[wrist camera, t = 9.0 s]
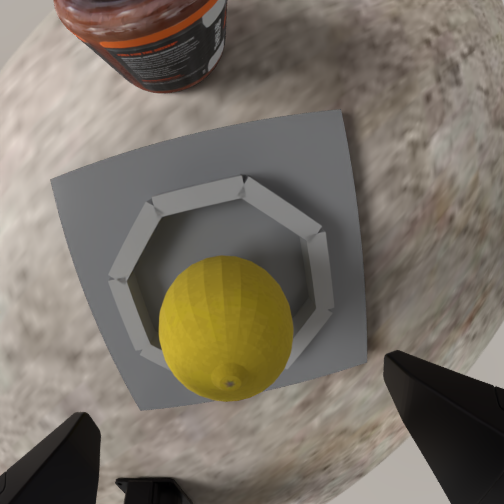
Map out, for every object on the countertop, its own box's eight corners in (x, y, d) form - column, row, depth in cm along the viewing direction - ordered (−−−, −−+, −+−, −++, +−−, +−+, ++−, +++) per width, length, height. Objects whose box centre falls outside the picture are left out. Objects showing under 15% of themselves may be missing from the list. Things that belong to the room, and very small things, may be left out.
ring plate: (360, 352, 21) (375, 374, 18) (143, 399, 20) (136, 425, 17) (333, 112, 16) (352, 104, 13) (60, 177, 15) (36, 181, 13)
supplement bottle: (247, 53, 14) (291, -82, 4) (158, 117, 15) (59, 49, 4) (185, -11, 13) (162, -148, 2) (101, 48, 13) (-8, -45, 3)
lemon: (276, 237, 16) (328, 303, 9) (270, 331, 18) (304, 433, 10) (169, 236, 16) (129, 305, 8) (174, 331, 17) (155, 437, 10)
